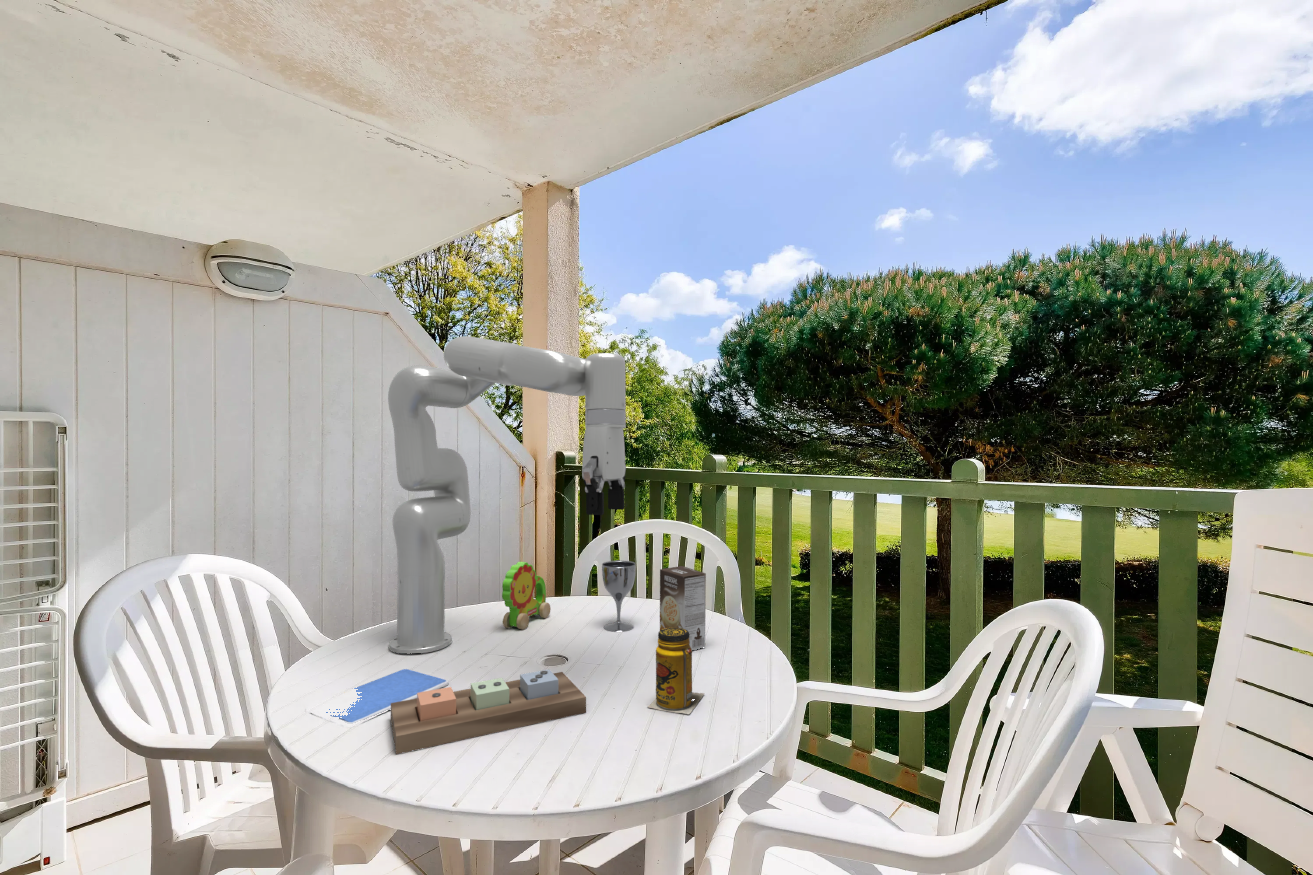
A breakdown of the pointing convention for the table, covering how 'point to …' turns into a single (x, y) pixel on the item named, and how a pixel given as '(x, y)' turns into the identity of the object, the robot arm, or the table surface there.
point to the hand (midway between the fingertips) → (606, 511)
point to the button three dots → (538, 684)
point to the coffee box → (684, 602)
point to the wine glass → (618, 588)
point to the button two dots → (489, 693)
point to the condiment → (674, 672)
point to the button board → (482, 716)
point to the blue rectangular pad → (389, 693)
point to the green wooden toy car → (523, 596)
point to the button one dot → (436, 704)
